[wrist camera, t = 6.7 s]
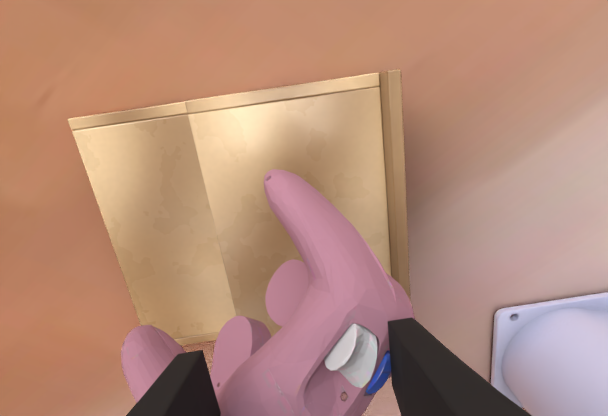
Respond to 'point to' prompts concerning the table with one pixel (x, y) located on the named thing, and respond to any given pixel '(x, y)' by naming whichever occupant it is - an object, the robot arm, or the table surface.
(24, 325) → the table surface
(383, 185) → the step shelf
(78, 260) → the table surface
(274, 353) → the video game controller
